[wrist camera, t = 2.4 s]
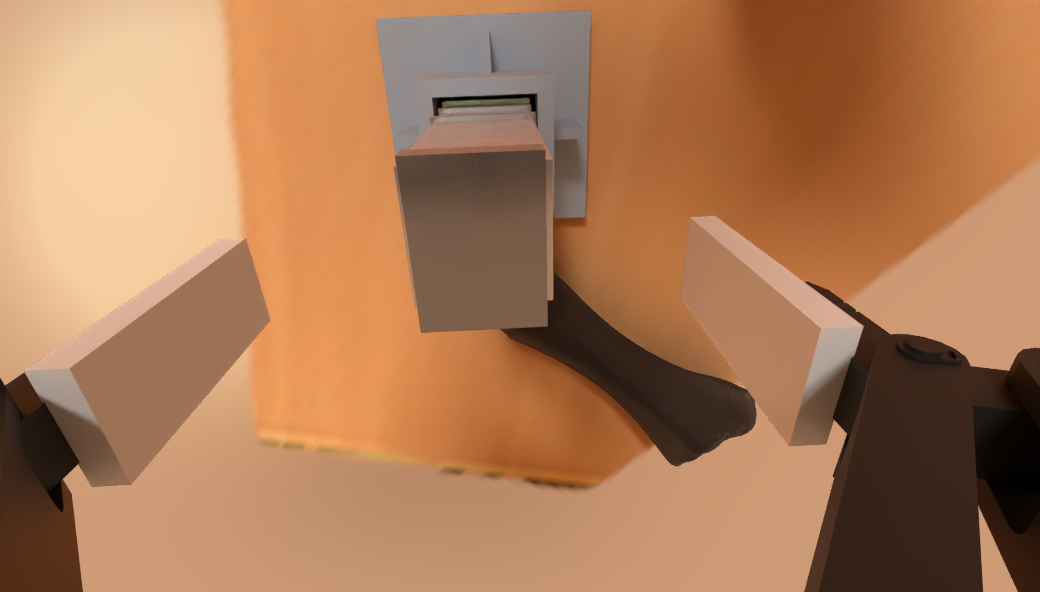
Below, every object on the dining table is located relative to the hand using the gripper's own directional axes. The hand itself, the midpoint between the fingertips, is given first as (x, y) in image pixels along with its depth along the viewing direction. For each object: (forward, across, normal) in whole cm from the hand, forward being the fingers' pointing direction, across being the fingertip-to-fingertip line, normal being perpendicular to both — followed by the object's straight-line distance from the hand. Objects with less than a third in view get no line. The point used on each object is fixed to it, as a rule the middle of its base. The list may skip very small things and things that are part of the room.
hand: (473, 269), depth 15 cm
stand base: (+30, 0, 0) cm, 30 cm away
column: (+28, 0, 0) cm, 28 cm away
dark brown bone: (+30, +12, -23) cm, 40 cm away
